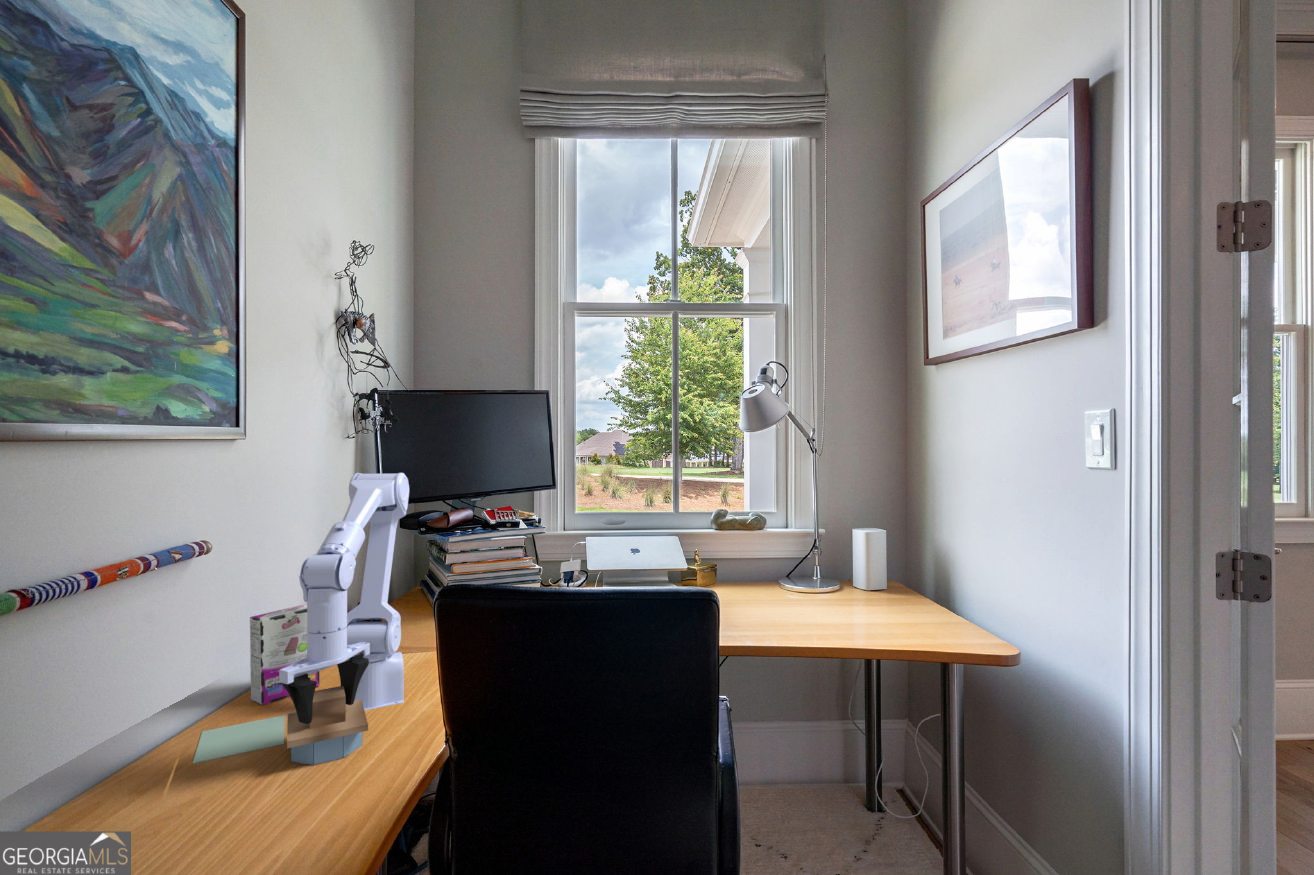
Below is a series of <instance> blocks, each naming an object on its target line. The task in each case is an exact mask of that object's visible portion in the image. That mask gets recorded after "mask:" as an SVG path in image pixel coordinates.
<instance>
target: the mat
mask: <svg viewBox="0 0 1314 875" xmlns="http://www.w3.org/2000/svg"><path fill="white" fill-rule="evenodd" d="M285 718H286V716H285V714H284V715H279V716H274V717H268V718H263V719H260V720H259V719H257V720H253V721H249V722H243V723H238V724H233V725H228V726H223V727H218V728H214V729H213V728H212V729H209V730H208V729H207V730H203V731H201V734H200V736H199V741H198V744H197V747H196V750H195V754H194V756H193V760H192V764H193V765H194V764H198V763H203V762H208V761H212V760H216V759H217V760H218V759H221V758H222V759H223V758H228V757H230V756H236V755H241V754H245V753H249V752H254V751H258V750H263V749H267V748H272V747H279V746H281V745H285V722H286V721H285Z"/></svg>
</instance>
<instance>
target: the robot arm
mask: <svg viewBox="0 0 1314 875" xmlns="http://www.w3.org/2000/svg"><path fill="white" fill-rule="evenodd" d="M348 484H349V485H348V496H349V500H350V503H349V504H348V508H347V509H346V512H345V514H344V517H343V519H342V521H339V522H336V523H334V524H333V525H332V526H331V528H330V529H329V531H328V533H327V535H326V537H325V538H324V539H323V541H322V543H321V545H320V547H319V549H318V550H317V552H316V554H312V555H310V556H309V557H307V558H305V560H304V561H303V563H302V564H301V566H300V567H301V568H300V573H299V577H298V578H299V584H300V588H301V590H302V594H303V595H302V596H303V598H302V599H303V601H304V602H305V603H306V604H307V654H306V657H305V658H303V659H301V660H299V661H297V662H296V663H294V664H292V665H290V666H288V667H285V668H283V669H280V670H279V682H281V683H282V685H283V686H284V688H285V689H286V690H287V692H288V693H289V695H290V696H289V697H290V699H291V701H292V703H293V706H294V708H295V712H297V716H298V720H299V722H301V723H304V724H309V723H311V721H312V709H313V697H314V692H315V691H316V688H317V687H316V685H317V682H316V681H313V680H310V677H309V678H308V675H309V674H312V673H315V672H318V671H319V672H321V671H323V670H326V669H329V668H331V667H334V666H337V669H338V673H339V680H340V686H344V691H345V696H346V704H347V705H352V704H353V703H354V701H355V700H360V699H361V700H362V703H363V707H364V711H365V712H366V711H369V710H374V709H379V708H384V707H385V708H386V707H390V706H394V705H399V704H404V703H405V700H404V698H405V697H404V696H405V695H404V693H405V692H404V690H405V678H404V676H405V675H404V674H405V673H404V672H405V669H404V657H403V654H402V652H400V651H398V650H399V647H400V644H401V640H402V627H401V622H402V621H401V620H402V618H401V614H400V612H398V611H397V610H396V609H395V608H394V607H393V606H391V605H390V604H389V603H388V601H389V593H390V584H391V575H392V568H393V561H394V560H393V559H394V553H395V552H394V550H395V542H396V533H397V527H398V522H399V520H400V519H402V518H404V517H405V516H406V515H407V510H408V506H409V497H410V484H409V478H408V477H407V476H406V474H405V473H404V472H398V473H361V472H356V473H354V474H353V476H352V477H351V478H350V480H349V483H348ZM368 522H369V523H370V528H369V533H368V534H369V535H368V541H367V547H366V548H367V550H366V558H365V563H364V572H363V578H362V584H361V585H362V586H361V592H360V593H361V594H360V601H359V604H358V605H357V606H355V607H354V608H352V609H351V610H350V611H349V612H348V589H349V587H350V586H351V584H352V583H353V580H354V575H355V568H356V564H357V561H356V558H357V556H358V554H359V552H360V550H361V548H362V546H363V544H364V541H365V539H366V533H365V531H364V528H365V526H366V525H367V524H368ZM366 620H370V621H366ZM371 620H376V621H371ZM377 620H380V621H377ZM381 620H382V621H381ZM383 620H385V621H383ZM397 651H398V652H397Z"/></svg>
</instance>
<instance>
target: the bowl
mask: <svg viewBox="0 0 1314 875" xmlns="http://www.w3.org/2000/svg"><path fill="white" fill-rule="evenodd" d="M361 746H363V732H359V733H355V734H350V735H346V736H341V737H337V738H332V739H328V740H323V741H319V742H314V743H310V744H305V745H301V746H296V747H292V748H290V762H292V763H297V764H302V765H310V766H311V765H312V766H313V765H319V764H325V763H329V762H332V761H335V760H340V759H344V758H346V757H347V756H349V755H350V754H352V753H354V752H355V751H356V750H357V749H359V748H360V747H361Z"/></svg>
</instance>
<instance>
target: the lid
mask: <svg viewBox="0 0 1314 875" xmlns="http://www.w3.org/2000/svg"><path fill="white" fill-rule="evenodd" d="M286 722H287V728H286V729H287V732H286V736H287V737H286V749H291V748H292V747H296V746H301V745H305V744H310V743H314V742H319V741H323V740H328V739H332V738H337V737H341V736H346V735H350V734H355V733H359V732H362V733H363V732H368V731H369V722H368V719H367V716H366V711H364V707H363V703H362V700H361V699H360V700H355V701H354V703H353V704H352V705H347V704H346V696H345V691H344V686H341V685H339V686H334V687H328V688H324V689H318V690H315V692H314V697H313V709H312V721H311V723H309V724H304V723H301V722H299V720H298V716H297V712H296V711H295V712H289V713H287V721H286Z"/></svg>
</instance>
